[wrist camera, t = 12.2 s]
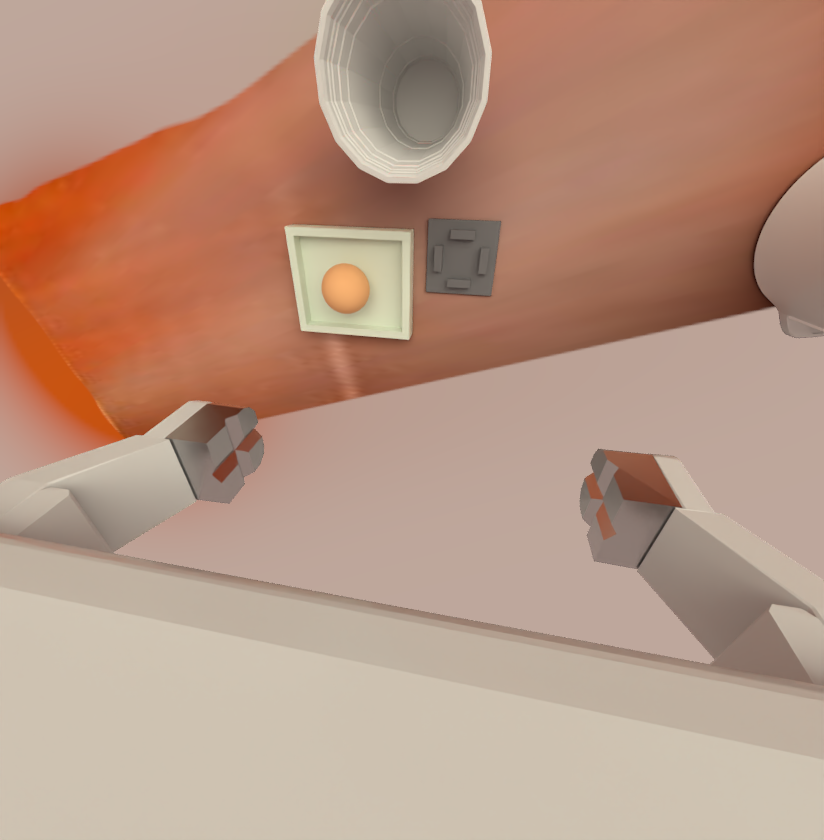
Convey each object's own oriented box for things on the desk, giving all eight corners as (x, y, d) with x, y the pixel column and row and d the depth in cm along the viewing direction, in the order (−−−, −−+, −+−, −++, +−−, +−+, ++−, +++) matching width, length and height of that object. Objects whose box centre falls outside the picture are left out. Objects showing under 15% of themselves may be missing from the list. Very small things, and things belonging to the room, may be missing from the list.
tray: (413, 229, 37) (410, 231, 36) (412, 333, 43) (409, 339, 42) (293, 224, 39) (284, 226, 37) (308, 324, 45) (301, 330, 44)
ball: (375, 260, 39) (357, 270, 35) (377, 308, 42) (360, 322, 38) (331, 257, 40) (309, 266, 36) (336, 303, 43) (316, 317, 39)
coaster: (500, 221, 35) (501, 222, 35) (491, 295, 39) (491, 297, 39) (429, 218, 36) (427, 219, 36) (426, 290, 40) (425, 293, 40)
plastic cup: (382, 192, 36) (341, 200, 26) (352, 39, 30) (285, -23, 20) (495, 167, 33) (497, 165, 23) (486, -6, 28) (484, -102, 18)
